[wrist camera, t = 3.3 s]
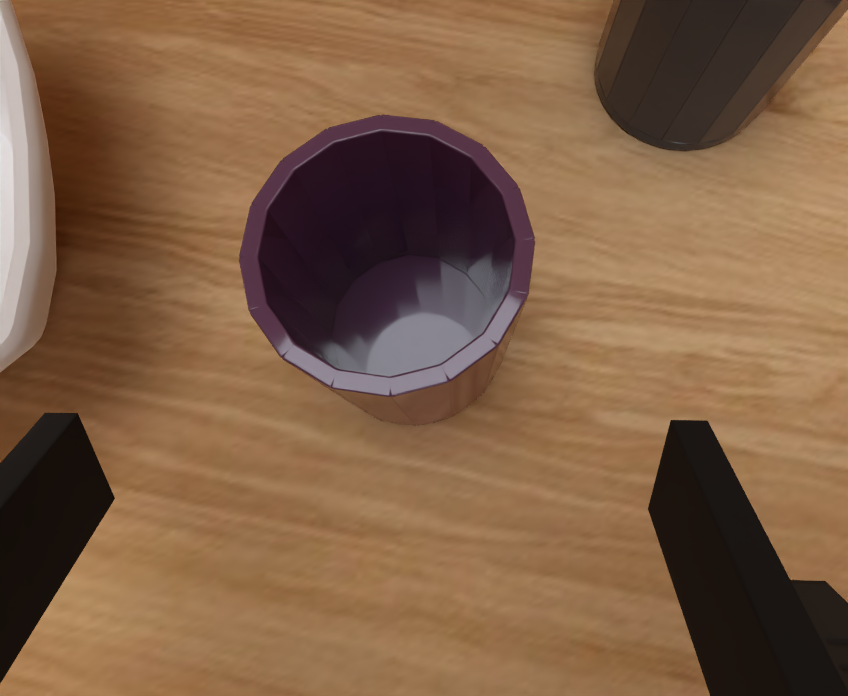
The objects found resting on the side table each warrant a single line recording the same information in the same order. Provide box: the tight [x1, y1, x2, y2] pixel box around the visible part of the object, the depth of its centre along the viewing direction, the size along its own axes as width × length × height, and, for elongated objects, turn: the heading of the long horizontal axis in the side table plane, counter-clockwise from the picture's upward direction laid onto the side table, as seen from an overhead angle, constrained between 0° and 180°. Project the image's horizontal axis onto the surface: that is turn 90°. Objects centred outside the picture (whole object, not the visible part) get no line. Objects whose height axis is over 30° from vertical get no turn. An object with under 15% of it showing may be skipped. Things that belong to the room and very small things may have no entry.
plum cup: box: [239, 115, 535, 426], centre depth 20 cm, size 7×7×10 cm
